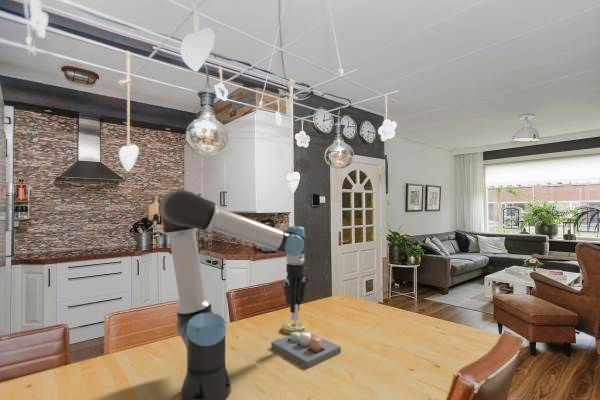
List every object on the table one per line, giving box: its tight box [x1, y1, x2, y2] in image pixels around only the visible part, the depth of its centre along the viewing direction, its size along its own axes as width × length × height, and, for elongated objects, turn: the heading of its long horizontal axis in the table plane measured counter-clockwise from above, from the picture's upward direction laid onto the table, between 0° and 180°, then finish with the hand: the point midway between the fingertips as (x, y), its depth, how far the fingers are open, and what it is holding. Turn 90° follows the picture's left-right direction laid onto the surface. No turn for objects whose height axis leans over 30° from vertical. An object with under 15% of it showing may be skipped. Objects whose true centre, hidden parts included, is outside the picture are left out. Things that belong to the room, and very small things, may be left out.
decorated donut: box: [281, 320, 306, 335], centre depth 145 cm, size 10×11×4 cm
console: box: [271, 329, 342, 369], centre depth 125 cm, size 18×22×3 cm
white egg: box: [300, 331, 312, 347], centre depth 125 cm, size 4×4×4 cm
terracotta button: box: [310, 336, 322, 352], centre depth 121 cm, size 4×4×4 cm
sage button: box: [290, 332, 300, 344], centre depth 129 cm, size 4×4×4 cm
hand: (294, 319), depth 129 cm, fingers closed
